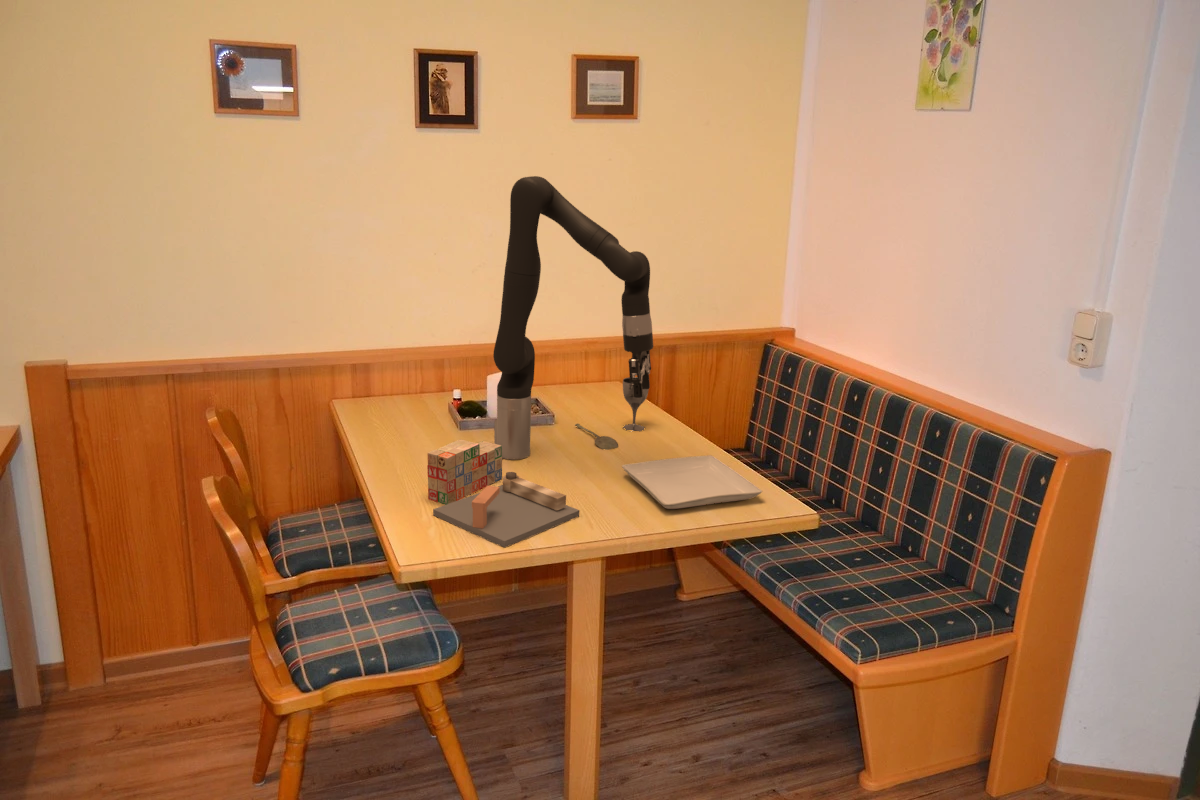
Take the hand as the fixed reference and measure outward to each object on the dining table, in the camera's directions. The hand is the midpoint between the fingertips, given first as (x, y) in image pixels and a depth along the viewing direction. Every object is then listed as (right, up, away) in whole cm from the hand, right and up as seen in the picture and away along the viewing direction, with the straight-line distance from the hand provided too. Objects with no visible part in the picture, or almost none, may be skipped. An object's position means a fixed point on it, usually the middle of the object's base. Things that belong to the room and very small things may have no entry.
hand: (642, 393), depth 239 cm
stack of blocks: (-44, -24, -8) cm, 51 cm away
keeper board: (-33, -29, -23) cm, 49 cm away
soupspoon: (-13, -14, +33) cm, 38 cm away
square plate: (+12, -25, -3) cm, 28 cm away
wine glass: (-1, -10, +43) cm, 44 cm away
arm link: (-27, -25, -17) cm, 41 cm away
